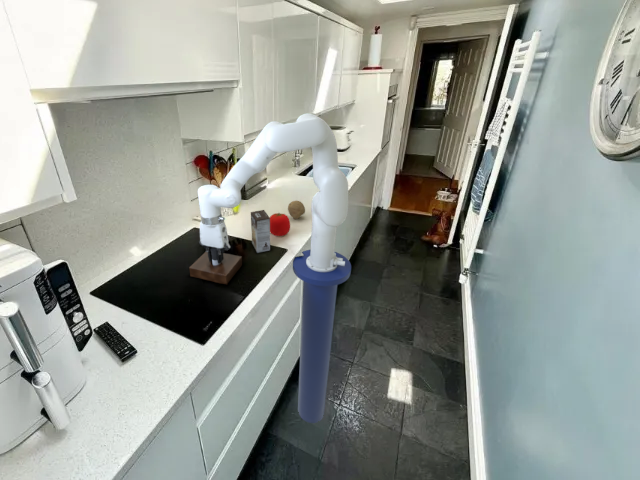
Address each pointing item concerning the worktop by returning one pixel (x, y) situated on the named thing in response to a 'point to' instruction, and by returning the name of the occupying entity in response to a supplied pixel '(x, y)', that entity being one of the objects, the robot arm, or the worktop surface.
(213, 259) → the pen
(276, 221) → the tomato
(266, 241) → the coffee box
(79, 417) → the worktop surface
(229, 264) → the holder
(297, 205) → the natural sponge
